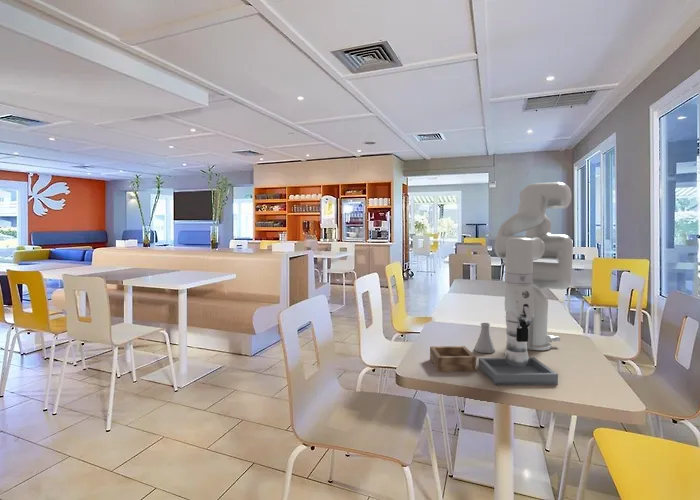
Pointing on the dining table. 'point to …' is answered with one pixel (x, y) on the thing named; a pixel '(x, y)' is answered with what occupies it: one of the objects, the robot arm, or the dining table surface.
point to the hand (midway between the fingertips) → (516, 337)
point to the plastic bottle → (514, 343)
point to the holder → (452, 359)
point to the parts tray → (517, 372)
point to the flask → (485, 340)
